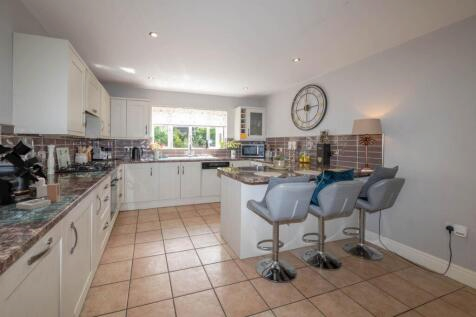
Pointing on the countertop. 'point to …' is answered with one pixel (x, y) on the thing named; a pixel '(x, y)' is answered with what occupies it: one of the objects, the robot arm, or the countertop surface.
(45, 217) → the countertop surface
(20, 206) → the socket block
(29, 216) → the countertop surface
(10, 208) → the countertop surface
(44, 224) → the countertop surface
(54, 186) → the plug
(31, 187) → the printed box
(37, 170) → the robot arm
